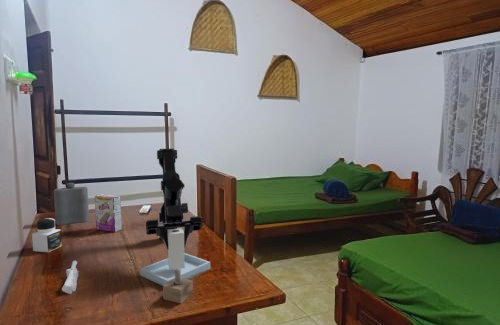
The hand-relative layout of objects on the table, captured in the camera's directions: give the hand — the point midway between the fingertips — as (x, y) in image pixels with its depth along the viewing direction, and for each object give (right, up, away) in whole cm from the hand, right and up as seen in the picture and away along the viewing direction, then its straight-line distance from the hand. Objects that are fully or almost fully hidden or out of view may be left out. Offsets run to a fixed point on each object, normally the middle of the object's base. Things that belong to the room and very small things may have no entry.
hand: (176, 248), depth 110 cm
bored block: (0, -6, +2) cm, 7 cm away
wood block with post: (+4, -10, -14) cm, 18 cm away
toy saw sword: (-33, -10, -2) cm, 34 cm away
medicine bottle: (-56, -6, +23) cm, 61 cm away
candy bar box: (-42, -4, +48) cm, 64 cm away
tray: (0, -9, +2) cm, 9 cm away
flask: (-66, -2, +60) cm, 89 cm away
